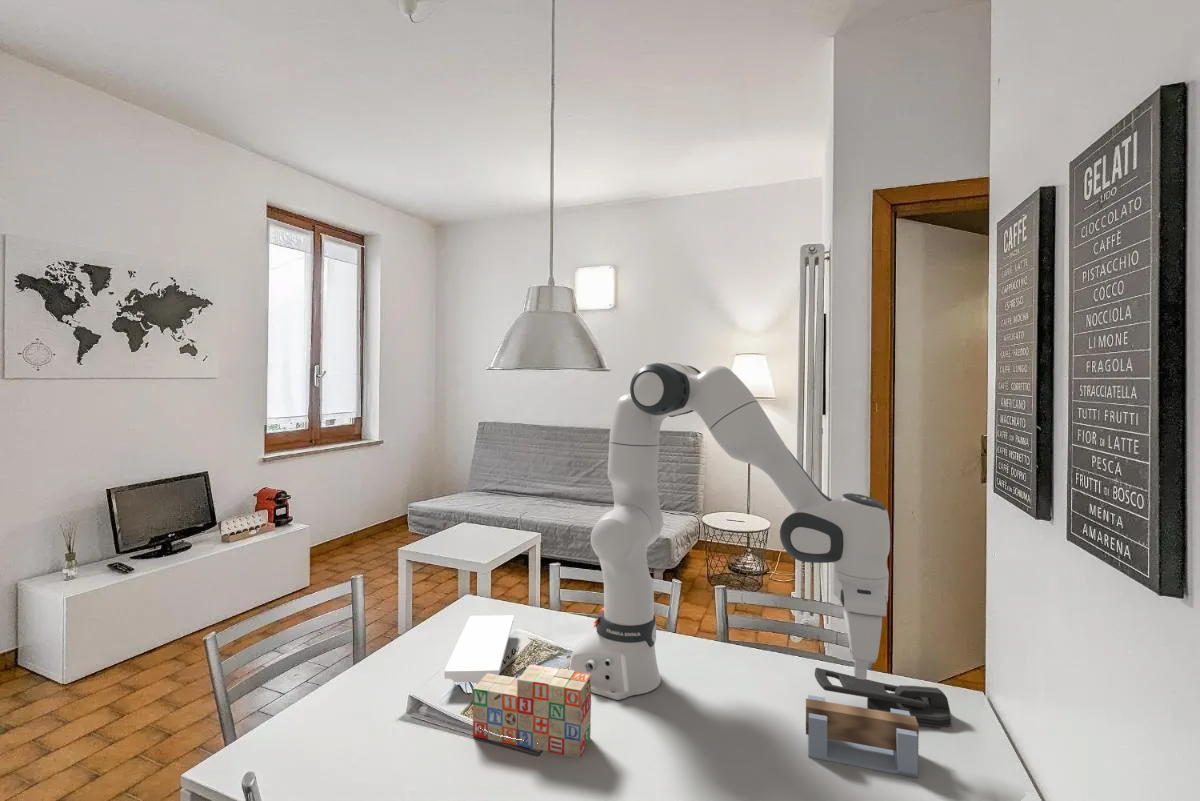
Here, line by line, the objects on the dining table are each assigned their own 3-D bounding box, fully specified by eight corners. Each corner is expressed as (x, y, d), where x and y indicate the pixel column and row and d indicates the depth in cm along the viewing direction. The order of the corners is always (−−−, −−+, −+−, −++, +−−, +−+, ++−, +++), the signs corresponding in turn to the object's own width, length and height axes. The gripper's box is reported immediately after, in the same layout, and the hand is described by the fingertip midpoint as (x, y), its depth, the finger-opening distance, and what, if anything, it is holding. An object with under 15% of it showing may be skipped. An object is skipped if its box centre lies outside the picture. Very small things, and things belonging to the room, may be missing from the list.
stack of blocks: (471, 737, 107) (471, 671, 107) (487, 719, 113) (487, 657, 113) (580, 759, 101) (581, 689, 101) (591, 738, 107) (591, 672, 107)
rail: (805, 734, 104) (806, 706, 104) (805, 725, 107) (805, 698, 107) (918, 755, 98) (918, 725, 98) (914, 744, 101) (915, 716, 101)
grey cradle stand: (808, 757, 101) (809, 717, 101) (807, 731, 109) (808, 694, 109) (917, 778, 96) (917, 736, 96) (908, 749, 103) (909, 711, 103)
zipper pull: (811, 665, 122) (937, 673, 118) (810, 696, 122) (937, 705, 118) (821, 686, 113) (958, 696, 109) (821, 720, 113) (958, 730, 110)
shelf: (444, 695, 122) (444, 671, 122) (470, 635, 152) (470, 616, 152) (498, 694, 122) (498, 670, 122) (513, 635, 152) (513, 615, 152)
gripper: (837, 568, 113) (834, 638, 113) (845, 604, 93) (842, 688, 94) (872, 572, 111) (870, 643, 111) (888, 610, 91) (885, 696, 92)
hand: (857, 664), depth 102 cm, fingers open, 8 cm apart
